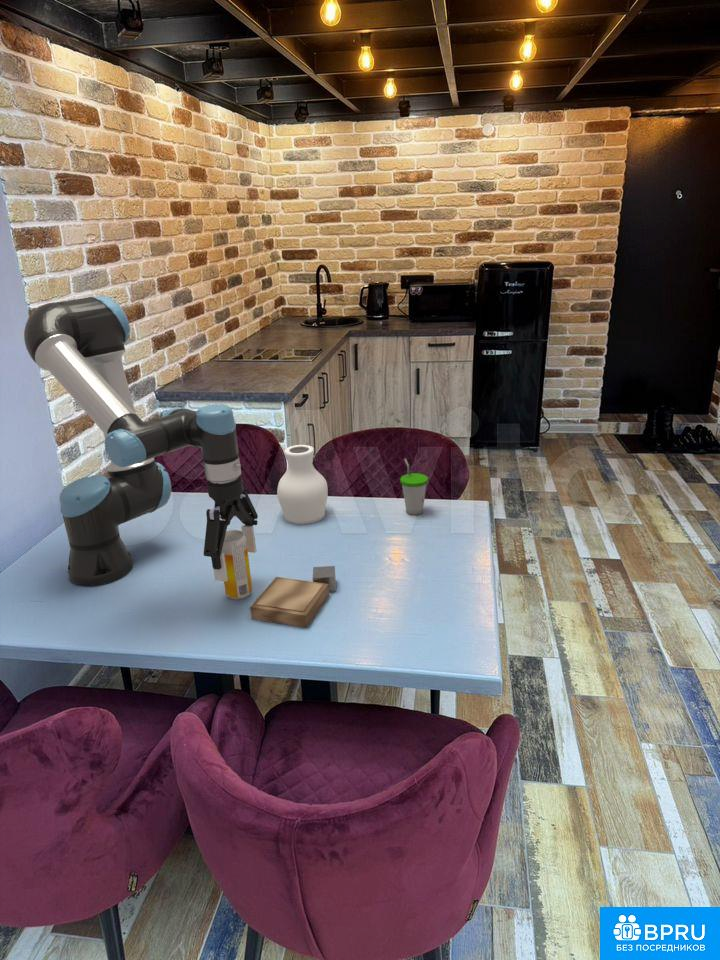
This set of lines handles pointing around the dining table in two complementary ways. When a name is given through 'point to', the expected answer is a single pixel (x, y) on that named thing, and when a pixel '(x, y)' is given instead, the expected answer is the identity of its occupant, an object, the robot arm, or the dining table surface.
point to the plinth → (290, 602)
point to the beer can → (236, 565)
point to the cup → (414, 491)
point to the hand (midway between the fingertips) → (236, 565)
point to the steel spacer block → (325, 576)
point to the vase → (302, 487)
